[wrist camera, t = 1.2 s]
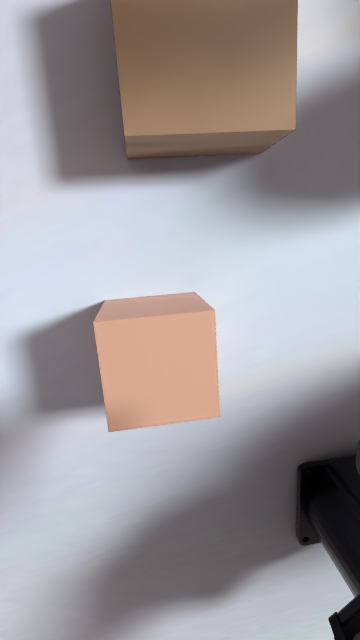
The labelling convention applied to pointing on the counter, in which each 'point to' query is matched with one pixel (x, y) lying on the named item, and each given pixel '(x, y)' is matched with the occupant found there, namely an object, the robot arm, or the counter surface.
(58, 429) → the counter surface
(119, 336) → the cube
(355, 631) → the robot arm
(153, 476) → the counter surface
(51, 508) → the counter surface
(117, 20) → the brown box
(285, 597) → the counter surface
